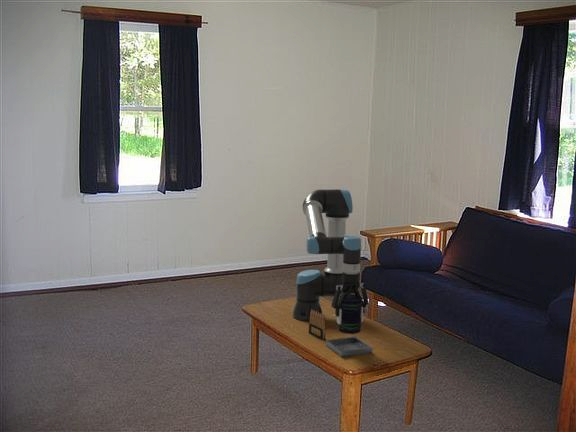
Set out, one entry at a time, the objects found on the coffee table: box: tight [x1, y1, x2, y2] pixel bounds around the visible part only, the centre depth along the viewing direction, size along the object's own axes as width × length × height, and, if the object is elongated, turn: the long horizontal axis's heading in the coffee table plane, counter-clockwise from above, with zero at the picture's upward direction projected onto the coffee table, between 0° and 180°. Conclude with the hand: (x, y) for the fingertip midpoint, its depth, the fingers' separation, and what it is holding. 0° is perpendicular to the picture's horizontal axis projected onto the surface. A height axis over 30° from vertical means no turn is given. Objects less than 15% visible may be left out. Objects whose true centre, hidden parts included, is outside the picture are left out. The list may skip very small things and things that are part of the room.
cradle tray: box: [325, 335, 373, 358], centre depth 290 cm, size 15×15×2 cm
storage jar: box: [338, 293, 363, 335], centre depth 287 cm, size 10×10×15 cm
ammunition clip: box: [308, 309, 326, 341], centre depth 305 cm, size 11×2×12 cm, turn 35°
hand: (349, 321), depth 288 cm, fingers closed on storage jar, 10 cm apart
